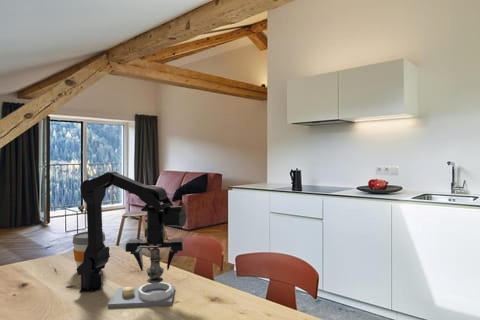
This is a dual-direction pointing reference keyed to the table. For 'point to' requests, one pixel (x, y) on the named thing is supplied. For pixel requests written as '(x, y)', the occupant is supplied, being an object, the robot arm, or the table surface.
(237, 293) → the table surface
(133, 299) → the socket board
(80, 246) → the reusable coffee cup
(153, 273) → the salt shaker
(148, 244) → the robot arm
